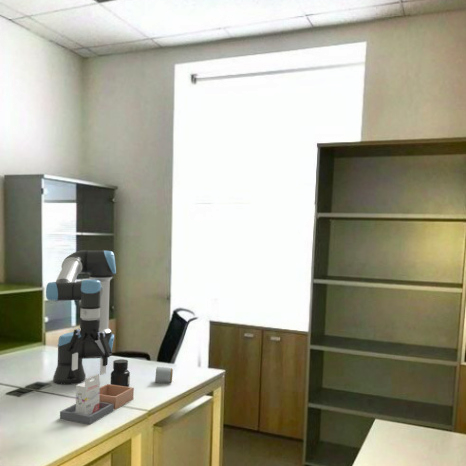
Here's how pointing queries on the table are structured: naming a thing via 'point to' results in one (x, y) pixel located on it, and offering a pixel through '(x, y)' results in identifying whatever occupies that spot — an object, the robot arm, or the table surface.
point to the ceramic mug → (163, 375)
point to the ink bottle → (120, 373)
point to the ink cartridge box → (88, 396)
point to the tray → (86, 419)
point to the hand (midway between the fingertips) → (88, 371)
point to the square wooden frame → (116, 395)
